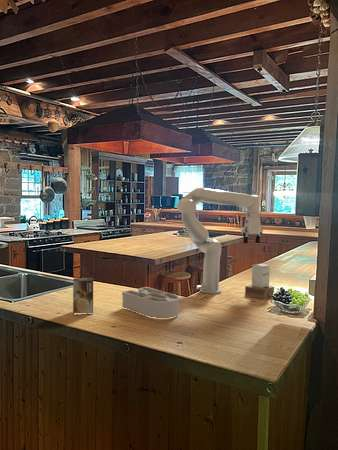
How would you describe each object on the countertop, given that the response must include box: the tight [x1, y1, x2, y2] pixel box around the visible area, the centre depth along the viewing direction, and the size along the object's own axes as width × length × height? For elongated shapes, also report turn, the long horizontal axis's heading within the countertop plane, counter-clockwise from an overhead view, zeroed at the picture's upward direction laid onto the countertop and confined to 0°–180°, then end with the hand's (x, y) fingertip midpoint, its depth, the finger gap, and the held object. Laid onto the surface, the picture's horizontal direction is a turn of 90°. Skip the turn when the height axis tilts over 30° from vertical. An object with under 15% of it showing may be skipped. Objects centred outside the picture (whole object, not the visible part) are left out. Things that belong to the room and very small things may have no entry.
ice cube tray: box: [121, 286, 181, 318], centre depth 178 cm, size 17×28×9 cm, turn 46°
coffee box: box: [72, 277, 94, 314], centre depth 173 cm, size 9×6×16 cm
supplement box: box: [251, 263, 271, 288], centre depth 215 cm, size 7×7×13 cm
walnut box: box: [244, 284, 275, 301], centre depth 215 cm, size 12×12×6 cm
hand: (251, 242), depth 229 cm, fingers open, 9 cm apart
